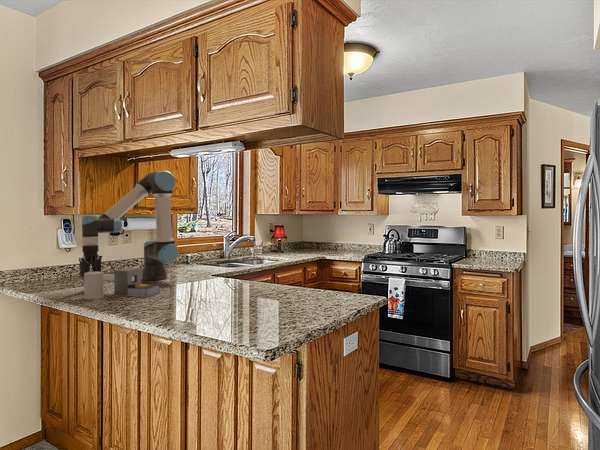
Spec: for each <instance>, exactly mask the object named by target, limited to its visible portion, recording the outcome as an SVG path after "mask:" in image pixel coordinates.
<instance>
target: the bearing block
mask: <svg viewBox="0 0 600 450" xmlns="http://www.w3.org/2000/svg"><path fill="white" fill-rule="evenodd" d="M113 275H114V281H113V282H114V296H115V295H116V296H117V295H118V296H127V297H129V296H128V288H132V289H135V286H136V285H140V284H142V279H141V275H142V268H140V267H139V268H137V267H126V268H120V269H115V270H114V271H113ZM132 276H135V281H132Z"/></svg>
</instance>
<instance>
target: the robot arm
mask: <svg viewBox="0 0 600 450" xmlns="http://www.w3.org/2000/svg"><path fill="white" fill-rule="evenodd" d="M176 184H177V183H176V177H175V176H174V174H173V173H172V172H170V171H167V170H158V171H152V172H150V173H148V174H146V175H145V176H143V177H142V178H141V179H140V180H139V181H138V182H136V184H135V187H133V188H132V189H131V190H130V191H129V192H127V193H126V194H125V195H124V196H122V197H121V198H120V199H119V200H118V201H117V202H116V203H114V204H113V205H112V206H111V207H110V208H108V209H107V210H106V211H105V212H103V214H101V215H100V216H99V215H97V214H91V215H90V214H89V215H87V214H86V215H82V218H81V237H82V238H81V242H82V243H81V244H82V250H81V251H82V253H83V255H82V257H79V258H78V261H79V277H80V278H83V279H84V273H86V272H89V271H98V272H102V258H103V256H102V255H99V253H98V252H99V250H100V249H99V234H103V233H104V234H105V233H106V234H107V233H109V234H111V233H114V234H115V233H119V232H122V230H123V223H122V222H123V221H122V220H121V219H120V218H122V217H123V216H124V215H125V214H127V212H128V211H130V210H131V209H132V208H133V207H134V206H136V205H137V204H138V203H139V202H140V201H142V200H143V198H145V197H148V196H150V195H152V196H153V197H154V207H155V208H154V210H155V228H156V229H155V230H156V239H154V240H149V241H144V243H143V269H142V271H141V281H159V280H166V279H167V278H168V273H167V270H166V267H165V265H166V264H167V265H168V264H169V265H170V264H173V263H175V261H176V260H177V259H178V257H179V248H178V247H177V245H176V241H175V239H174V238H173V232H172V231H173V230H172V211H171V208H172V207H171V205H172V204H171V197H172V195H173V194H174V193H173V190H174V188H175V187H176ZM90 269H91V270H90Z"/></svg>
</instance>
